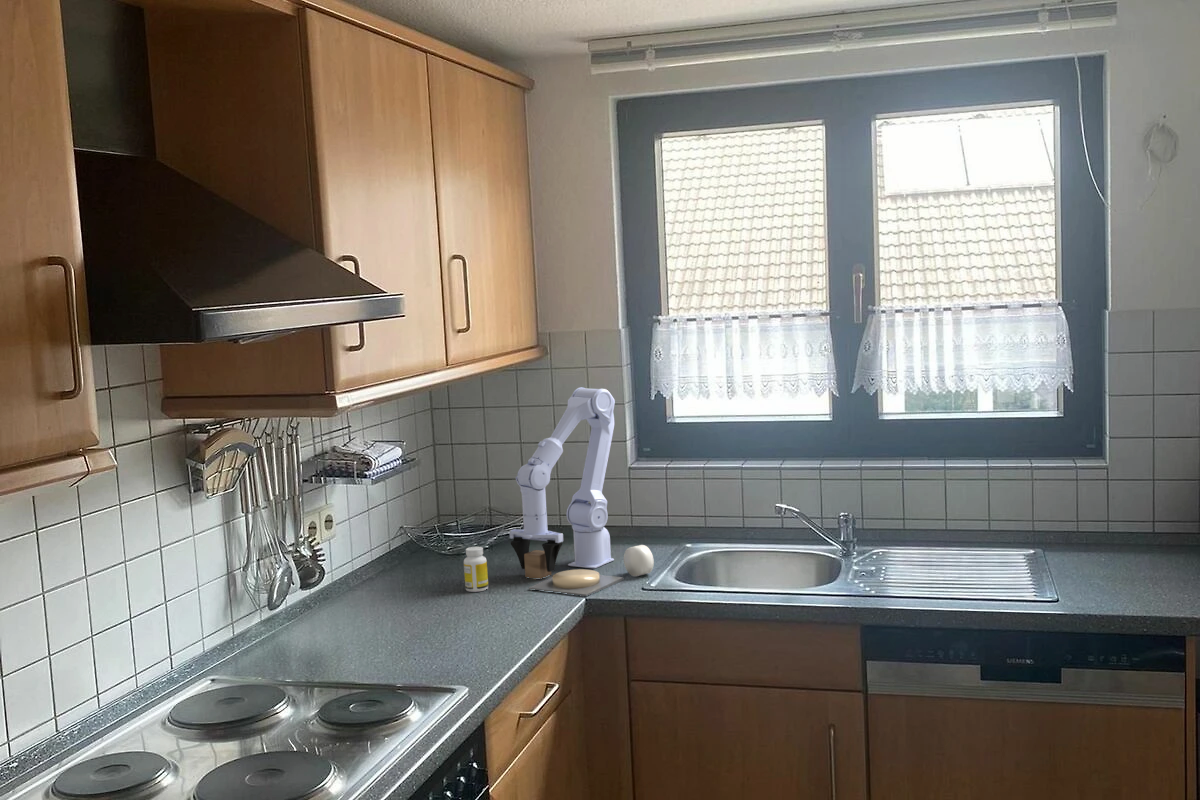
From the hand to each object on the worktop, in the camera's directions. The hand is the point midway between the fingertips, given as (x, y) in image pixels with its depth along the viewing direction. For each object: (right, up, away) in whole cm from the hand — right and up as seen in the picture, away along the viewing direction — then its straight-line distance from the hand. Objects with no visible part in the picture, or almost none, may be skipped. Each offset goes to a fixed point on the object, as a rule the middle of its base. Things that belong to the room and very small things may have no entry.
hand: (537, 569), depth 284 cm
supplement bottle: (-14, -4, -9) cm, 17 cm away
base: (+9, -2, -9) cm, 13 cm away
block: (0, -2, 0) cm, 2 cm away
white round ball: (+23, +2, -4) cm, 23 cm away
